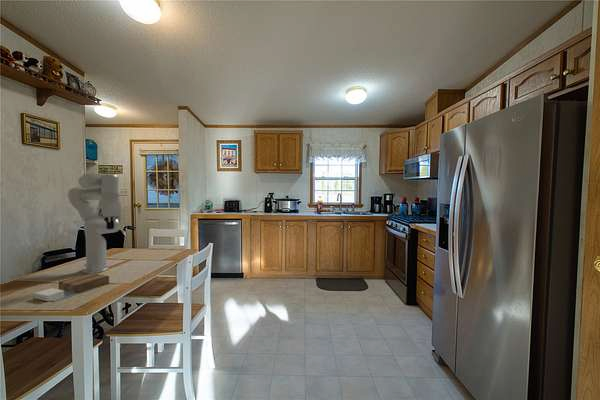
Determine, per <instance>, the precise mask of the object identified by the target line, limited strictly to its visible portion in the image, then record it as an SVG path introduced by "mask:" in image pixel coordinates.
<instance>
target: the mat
mask: <svg viewBox="0 0 600 400" xmlns="http://www.w3.org/2000/svg"><path fill="white" fill-rule="evenodd" d="M57 289H58V290H61V289H59V288H57ZM63 291H64V296H62V297H59V298H56V299H53V300H50V301H49V302H52V303H53V302H54V303H55V302H58V301H61V300H65V299H68V298H70V297H74V296H77V295H79V294H78V293H74V292H70V291H65V290H63ZM33 298H34V295H33Z"/></svg>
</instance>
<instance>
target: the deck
mask: <svg viewBox="0 0 600 400" xmlns="http://www.w3.org/2000/svg"><path fill="white" fill-rule="evenodd" d="M108 284H110V275H106V274H99V273H84V274H82V275H78V276H75V277H71V278H66V279H63V280H59V281H58V289H61V290H65V291H70V292H74V293H78V294H77V295H79V294H82V293H85V292H87V291H91V290H93V289H97V288H100V287H103V286H106V285H108Z"/></svg>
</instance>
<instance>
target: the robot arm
mask: <svg viewBox="0 0 600 400" xmlns="http://www.w3.org/2000/svg"><path fill="white" fill-rule="evenodd" d="M77 182H78V184H79V187H78V186H76V187H73V188H70V189H69V190H68V192H67V197H68V200H69V202H70V204H71V205H72V207H73V208H74V209H76V210H77V213H78V215H79V216H80V218H81V220H82V221H83V231H84V236H85V263H84V264H83V266H84V267H85V268H84V269H83V270H82V274H89V273H94V274H99V273H103V272H106V271H108V270H109V269H110V266H109V265H107V239H106V238H105V237H104V236H102V235H104V234H111V233H117V232H119V230H120V229H121V223H120V220H119V218H121V214H122V203H121V199H120V198H119V197H121V194H120V193H119V176H118V175H117V174H115V173H114V174H113V173H83V174H82V175H81V176H79V179H78V181H77ZM90 201H98V205H97V207H95V205H94V204H93V203H92V202H90Z"/></svg>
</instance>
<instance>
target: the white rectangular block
mask: <svg viewBox="0 0 600 400" xmlns="http://www.w3.org/2000/svg"><path fill="white" fill-rule="evenodd" d="M58 289H59V288H52V287H50V288H47V289H44V290H40V291H37V292H34V295H33V296H34V297H33V298H34V299H35V300H41V301H45V302H51V301H50V300H53V299H56V298H59V297H62V296H64V291H63V290H58Z"/></svg>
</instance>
